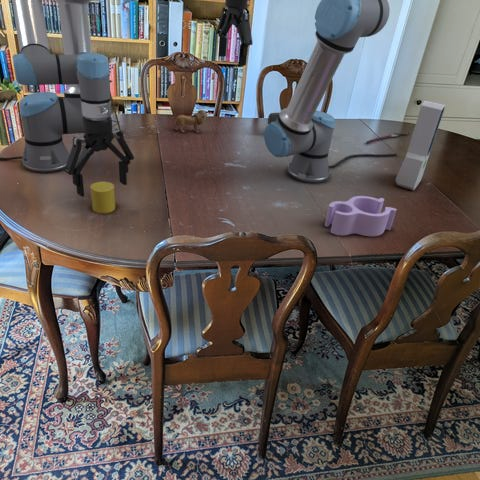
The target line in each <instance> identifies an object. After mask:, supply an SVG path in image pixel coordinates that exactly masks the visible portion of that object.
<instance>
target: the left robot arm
mask: <svg viewBox="0 0 480 480" xmlns="http://www.w3.org/2000/svg"><path fill="white" fill-rule="evenodd" d="M54 1H55V2H56V4H57V7H58V15H59V22H60V23H59V24H60V30H61V31H60V32H61V39H62V47H63V54H58V53H57V54H53V53H51V48H50V43H49V37H48V31H47V25H46V20H45V13H44V9H43V3H42V0H11V2H12V8H13V16H14V22H15V29H16V30H15V31H16V34H17V35H16V36H17V42H18V49H19V53H15V54H13V55H12V63H13V70H14V71H13V72H14V77H15V81H16V82H17V84H18V85H21V86H52V85H53V86H54V85H58V86H59V85H61V86H65V85H67V87H66V88H65V89H64V90H63V97H59V96H58V94H57V93H55V92H52V91H39V92H34V93H30V94H27V95H25V96H23V97H22V98H21V99H20V101H19V103H18V104H19V116H20V118H21V123H22V124H21V125H22V130H23V131H22V132H23V137H24V148H23V153H22V156H12V157H0V161H13V160H21V159H22V160H21V161H22V166H23V168H24V169H25V170H27V171H29V172H33V173H39V174H46V173H56V172H61V171H63V170H64V172H65V173H66V174H68V175H70V176H72V184H73V185H74V186H75V187H76V194H77V195H79V196H80V197H81V198H83V197H84V198H85V189H84V187H85V186H84V178H83V174H82V173H81V172H82V171H83V169H84V167H85V166H86V164H87V162H88V161H89V159H90V158H91V156H93V155H94V154H95V152H96V153H97V152H101V151H106V150H107V149H109V150H110V151H111V152H112V153H113V154H114V155H115V156H116V157H117V158H118V159H119V160H120V161H118V175H119V176H118V178H119V183H120V184H122V185H124V186H126V185H128V178H127V173H128V174H129V165H131V161H133V160H134V159H135V156H134V154H133V152H132V151H131V149H130V147H129V145H128V144H127V142H126V140H125V138H124V132H123V131H122V130H121V131H120V130H119V128H115V129H114V130H113V128H112V126H113V121H112V120H113V117H111V116H112V113H111V112H112V110H111V108H112V101H111V99H110V92H111V87H110V84H111V83H109V80H110V76H109V74H110V73H109V72H110V71H111V70H110V69H109V68H110V66H109V65H108V60H109V58H108V56H107V55H106V54H102V53H98V52H93V49H92V38H91V27H90V18H89V17H90V16H89V8H88V5H89V4H90V2H91V1H92V0H54ZM74 134H75V135H77V134H83V137H78V136H73V137H72V146H71V149H70V152H69V151H68V150H67V149H68V148H67V147H66V145H65V143H64V140H63V135H74ZM113 139H115V140H116V141H117V143H118V144H119V146H120V148H121V150H122V151H123V153H124V154H123V153H122V152H121V151H120V150H119V149H118V148H117V147H116V146H115V144H113V143H112V141H113ZM84 143H85V144H84ZM83 146H84V147H83ZM82 147H83V148H82ZM81 151H82V152H81Z"/></svg>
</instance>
